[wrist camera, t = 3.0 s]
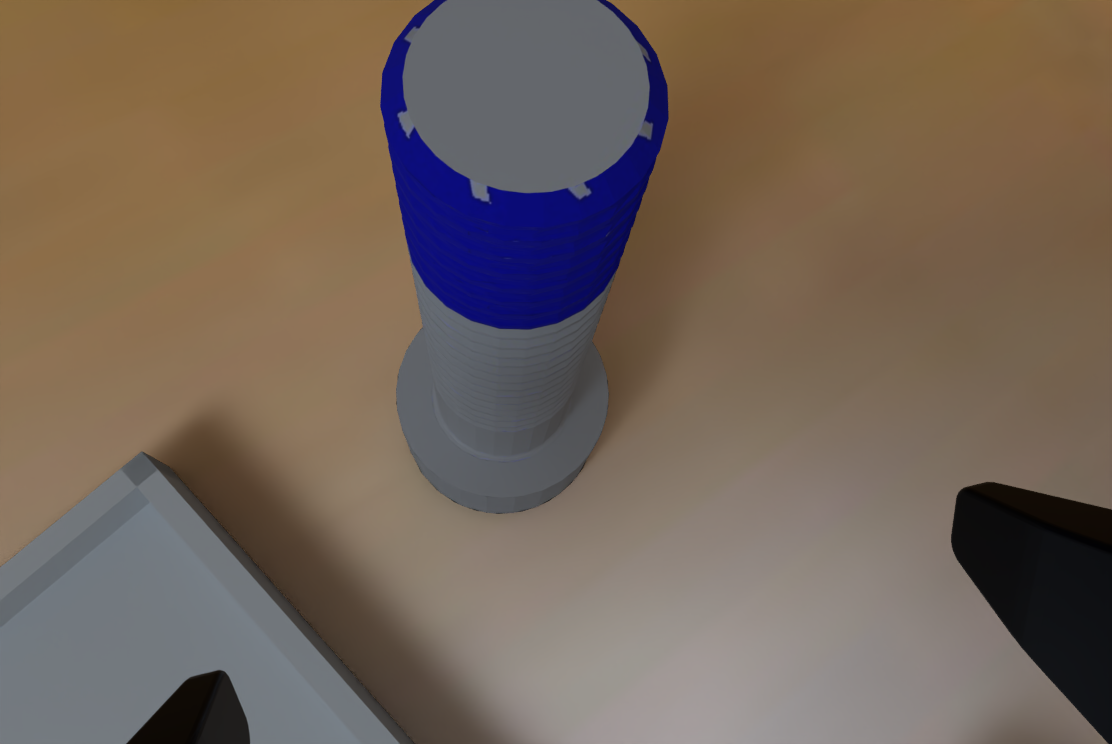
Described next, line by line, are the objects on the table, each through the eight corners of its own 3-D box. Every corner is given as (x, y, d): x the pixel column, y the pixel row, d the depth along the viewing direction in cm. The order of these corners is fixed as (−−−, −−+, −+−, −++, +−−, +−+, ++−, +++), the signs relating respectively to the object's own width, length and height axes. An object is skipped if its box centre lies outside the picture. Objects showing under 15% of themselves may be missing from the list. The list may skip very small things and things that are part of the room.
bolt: (551, 309, 26) (622, 474, 24) (380, 371, 25) (446, 545, 24) (645, -157, 11) (840, 208, 10) (223, -42, 10) (381, 376, 9)
